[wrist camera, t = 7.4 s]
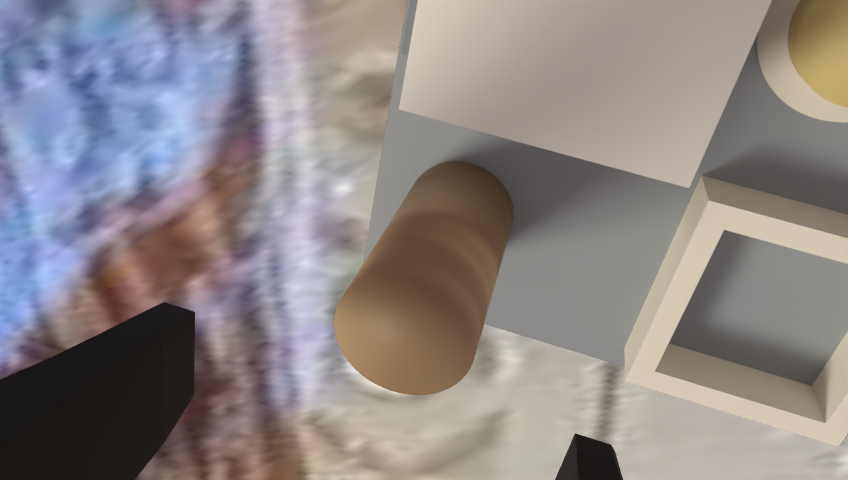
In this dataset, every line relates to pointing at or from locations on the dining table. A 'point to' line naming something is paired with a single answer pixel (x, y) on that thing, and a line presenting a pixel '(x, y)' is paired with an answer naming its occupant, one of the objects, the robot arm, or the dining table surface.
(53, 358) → the robot arm
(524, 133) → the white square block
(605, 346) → the board
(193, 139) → the dining table surface
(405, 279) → the peg
